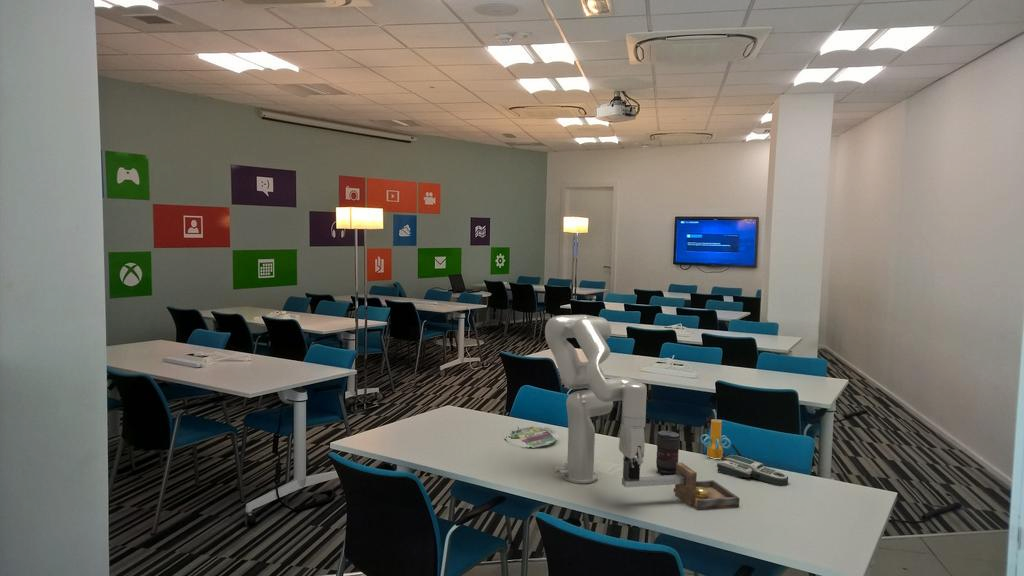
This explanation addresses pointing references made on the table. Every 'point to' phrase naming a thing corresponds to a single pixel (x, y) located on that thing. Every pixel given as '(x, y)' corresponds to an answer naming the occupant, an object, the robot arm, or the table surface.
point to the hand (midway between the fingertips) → (631, 475)
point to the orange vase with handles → (715, 440)
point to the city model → (535, 436)
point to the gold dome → (701, 492)
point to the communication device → (750, 469)
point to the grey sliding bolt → (649, 478)
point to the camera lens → (667, 452)
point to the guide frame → (716, 492)
